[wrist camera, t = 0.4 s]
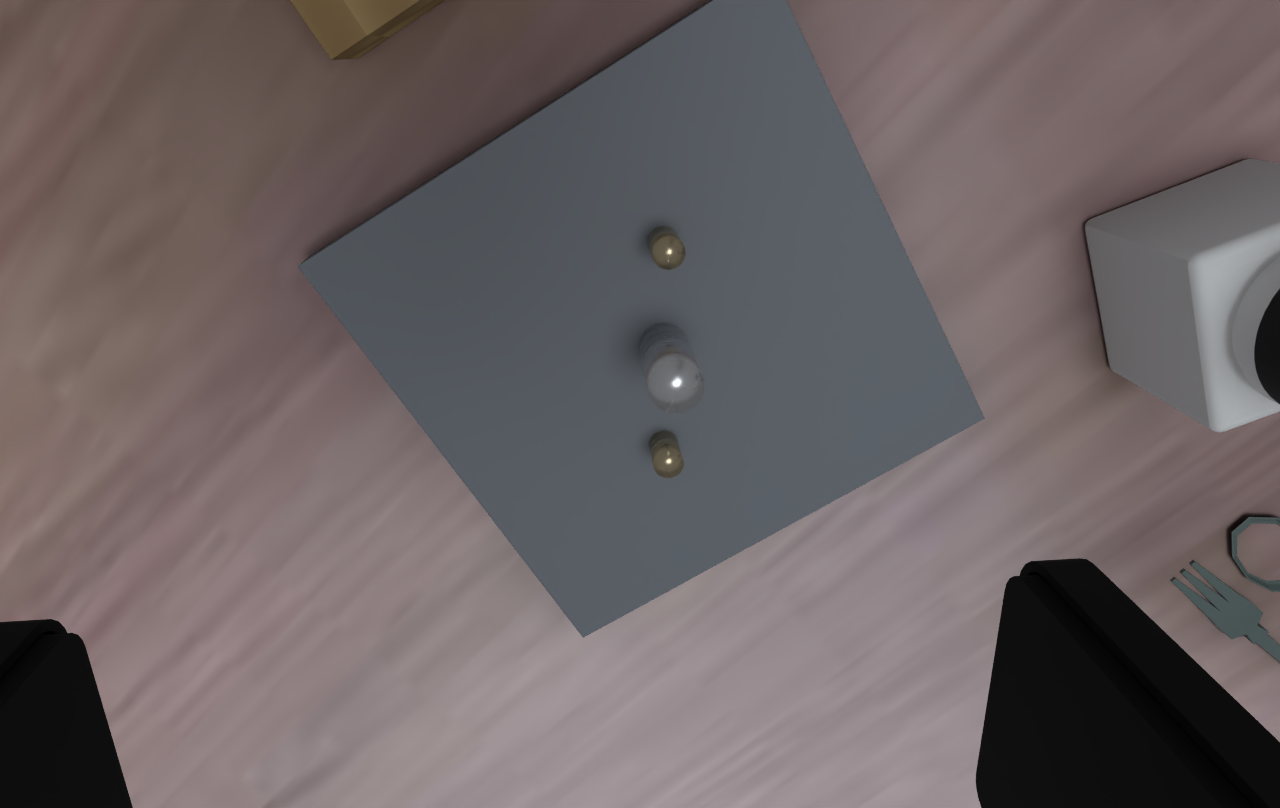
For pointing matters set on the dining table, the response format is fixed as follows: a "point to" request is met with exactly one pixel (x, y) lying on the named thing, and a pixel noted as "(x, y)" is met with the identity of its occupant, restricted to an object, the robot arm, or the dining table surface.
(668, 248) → the pegs
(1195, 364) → the medicine bottle
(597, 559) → the slate board
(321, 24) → the tan slatted rectangular block
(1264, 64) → the dining table surface
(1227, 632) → the cutlery set
